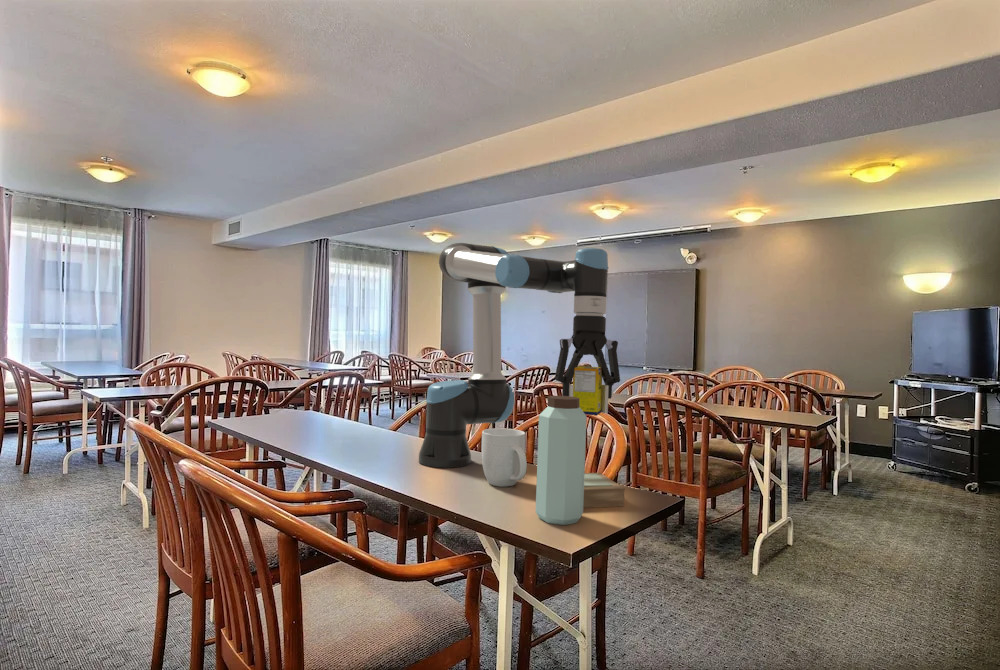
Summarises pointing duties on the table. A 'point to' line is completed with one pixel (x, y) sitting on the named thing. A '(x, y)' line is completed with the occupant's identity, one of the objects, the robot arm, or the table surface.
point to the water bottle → (561, 461)
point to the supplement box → (588, 389)
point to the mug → (503, 456)
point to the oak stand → (601, 491)
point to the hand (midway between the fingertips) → (586, 412)
